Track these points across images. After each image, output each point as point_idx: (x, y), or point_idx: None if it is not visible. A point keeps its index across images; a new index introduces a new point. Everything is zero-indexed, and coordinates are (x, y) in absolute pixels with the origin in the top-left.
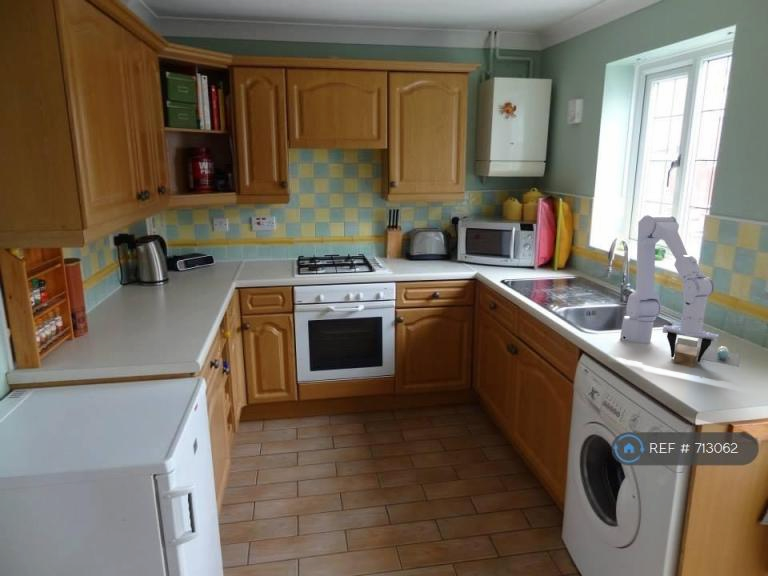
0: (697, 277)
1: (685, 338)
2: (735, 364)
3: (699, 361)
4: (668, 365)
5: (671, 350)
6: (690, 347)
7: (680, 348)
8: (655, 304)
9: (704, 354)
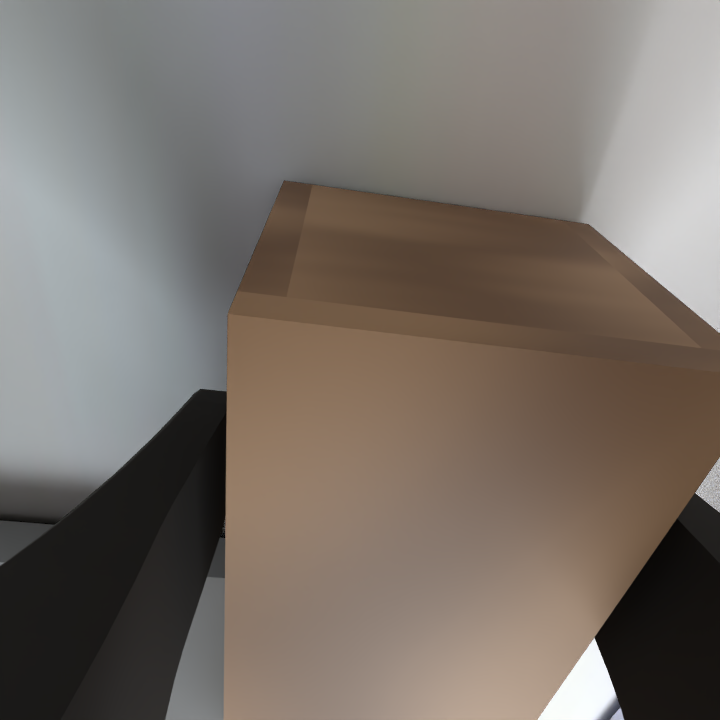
0: None
1: None
2: None
3: (193, 396)
4: None
5: (709, 511)
6: (345, 699)
7: (541, 608)
8: None
9: (185, 679)
